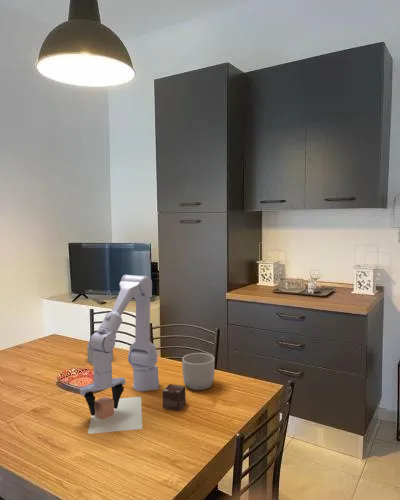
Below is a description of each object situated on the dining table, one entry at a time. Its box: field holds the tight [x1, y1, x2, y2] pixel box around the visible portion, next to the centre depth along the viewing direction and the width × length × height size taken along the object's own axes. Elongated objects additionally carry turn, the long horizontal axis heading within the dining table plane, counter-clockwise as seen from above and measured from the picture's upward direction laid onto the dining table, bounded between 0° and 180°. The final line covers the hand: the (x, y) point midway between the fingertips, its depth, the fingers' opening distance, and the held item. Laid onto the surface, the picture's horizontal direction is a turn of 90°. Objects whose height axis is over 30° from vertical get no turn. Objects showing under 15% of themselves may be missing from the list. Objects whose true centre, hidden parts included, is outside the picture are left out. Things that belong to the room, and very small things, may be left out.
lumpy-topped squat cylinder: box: [86, 344, 114, 366], centre depth 184 cm, size 10×13×9 cm
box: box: [162, 383, 187, 412], centre depth 135 cm, size 6×6×7 cm
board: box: [87, 396, 143, 435], centre depth 131 cm, size 16×22×5 cm
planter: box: [181, 352, 216, 391], centre depth 154 cm, size 12×12×11 cm
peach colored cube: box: [94, 395, 114, 419], centre depth 130 cm, size 4×4×5 cm
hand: (104, 410), depth 130 cm, fingers open, 7 cm apart
